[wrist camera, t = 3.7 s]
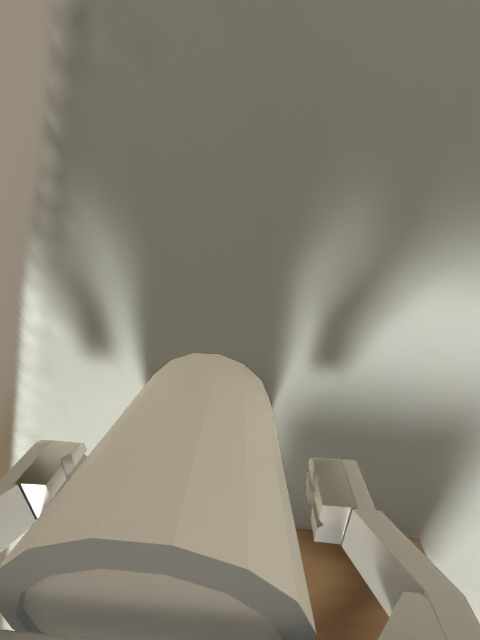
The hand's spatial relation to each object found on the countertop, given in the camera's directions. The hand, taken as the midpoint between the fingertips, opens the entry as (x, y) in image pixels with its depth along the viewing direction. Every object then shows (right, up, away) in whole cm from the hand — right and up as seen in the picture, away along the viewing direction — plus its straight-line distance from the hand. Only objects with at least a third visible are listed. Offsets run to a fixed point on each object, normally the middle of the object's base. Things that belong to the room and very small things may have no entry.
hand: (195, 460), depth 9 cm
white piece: (0, +1, +3) cm, 3 cm away
